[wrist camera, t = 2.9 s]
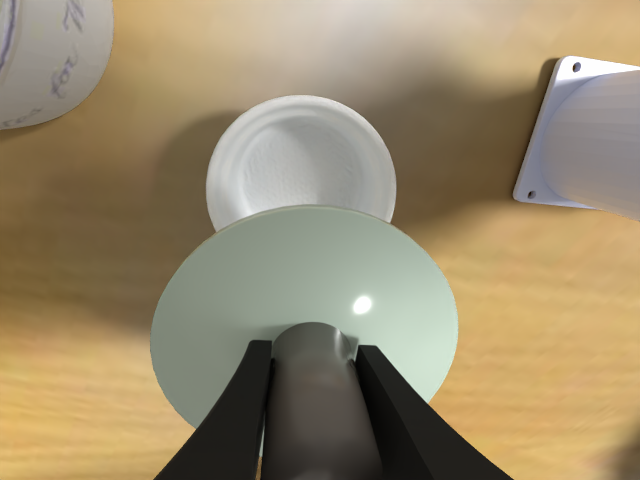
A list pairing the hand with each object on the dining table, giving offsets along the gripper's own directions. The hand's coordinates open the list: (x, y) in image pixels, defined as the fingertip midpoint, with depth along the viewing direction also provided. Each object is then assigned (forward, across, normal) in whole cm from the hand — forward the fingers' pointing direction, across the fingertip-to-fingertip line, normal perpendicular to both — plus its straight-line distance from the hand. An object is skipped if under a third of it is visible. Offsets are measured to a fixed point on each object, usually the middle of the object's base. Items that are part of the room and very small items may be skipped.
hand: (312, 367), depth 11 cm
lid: (+1, 0, 0) cm, 1 cm away
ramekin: (+11, 0, -4) cm, 12 cm away
